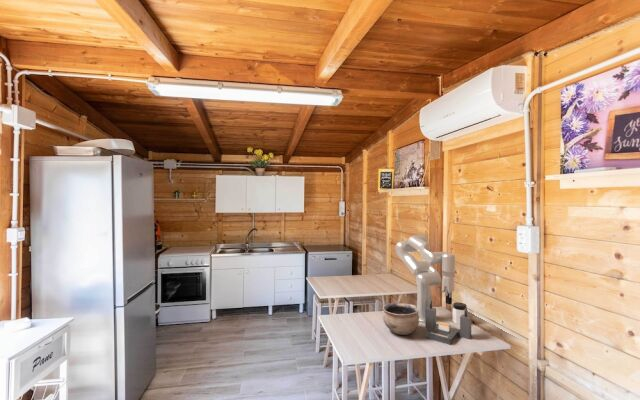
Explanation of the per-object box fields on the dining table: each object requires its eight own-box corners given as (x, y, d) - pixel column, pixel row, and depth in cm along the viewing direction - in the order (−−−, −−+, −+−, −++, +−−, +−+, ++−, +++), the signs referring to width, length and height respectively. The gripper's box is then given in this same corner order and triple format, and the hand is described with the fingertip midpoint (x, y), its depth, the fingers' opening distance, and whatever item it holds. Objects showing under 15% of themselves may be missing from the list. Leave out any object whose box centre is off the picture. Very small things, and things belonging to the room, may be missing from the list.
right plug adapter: (459, 336, 188) (460, 307, 188) (462, 334, 192) (462, 305, 192) (468, 339, 185) (469, 309, 185) (471, 336, 189) (471, 307, 189)
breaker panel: (425, 337, 187) (425, 332, 187) (436, 328, 201) (436, 323, 201) (450, 344, 178) (450, 339, 178) (460, 334, 192) (460, 329, 192)
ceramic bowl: (421, 341, 182) (421, 315, 182) (382, 338, 186) (382, 312, 186) (417, 326, 204) (417, 303, 204) (382, 323, 208) (382, 300, 208)
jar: (452, 323, 209) (452, 305, 209) (452, 319, 216) (452, 301, 216) (467, 325, 205) (467, 307, 205) (466, 321, 213) (467, 303, 213)
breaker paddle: (438, 329, 192) (438, 323, 192) (440, 327, 194) (440, 322, 194) (448, 331, 188) (448, 325, 188) (450, 330, 190) (450, 324, 190)
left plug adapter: (425, 327, 202) (425, 300, 202) (428, 325, 206) (428, 298, 206) (433, 329, 199) (433, 302, 199) (436, 327, 203) (436, 300, 203)
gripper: (446, 271, 204) (446, 299, 204) (438, 275, 193) (438, 305, 193) (458, 272, 199) (458, 302, 199) (450, 276, 188) (451, 308, 188)
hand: (448, 303), depth 196 cm, fingers closed
